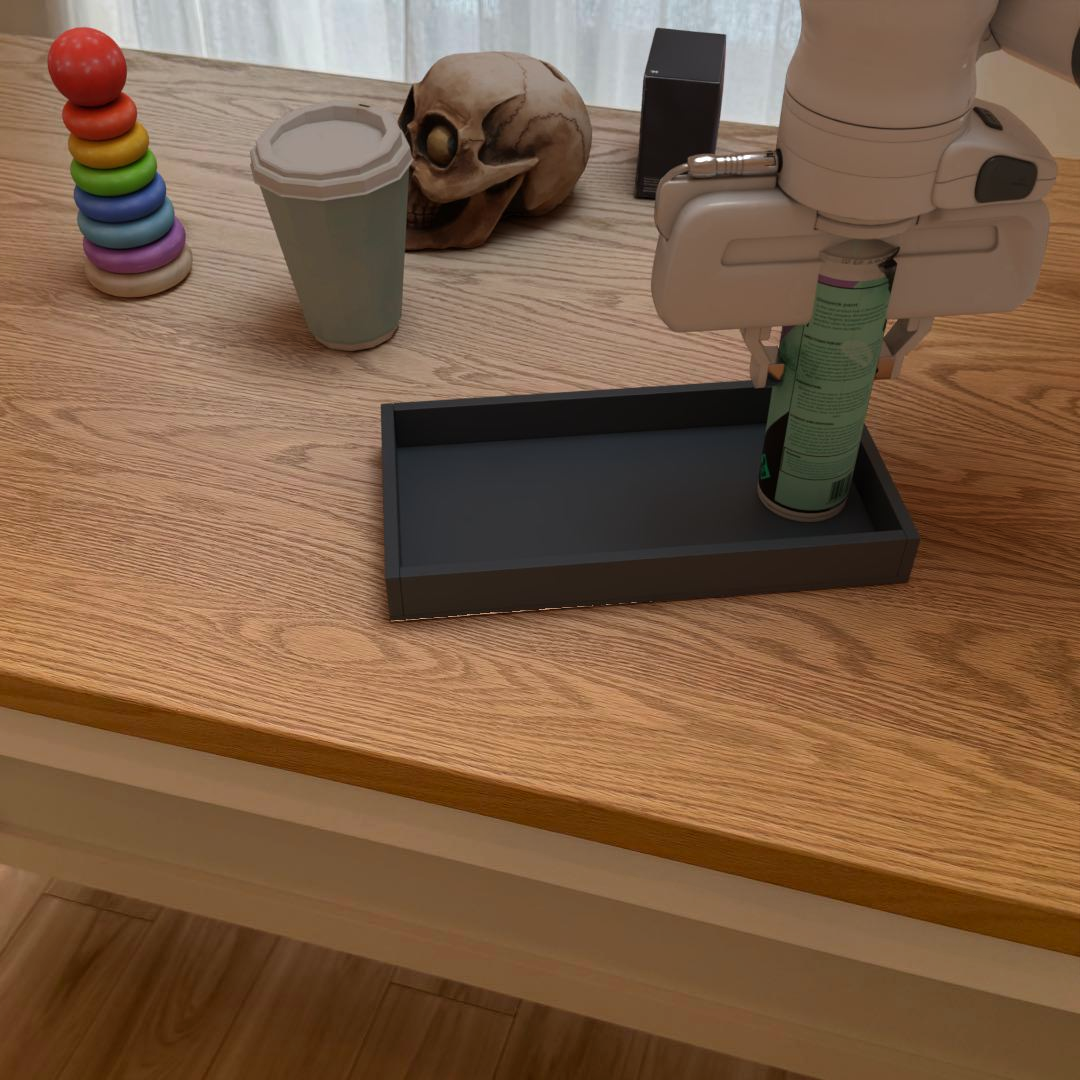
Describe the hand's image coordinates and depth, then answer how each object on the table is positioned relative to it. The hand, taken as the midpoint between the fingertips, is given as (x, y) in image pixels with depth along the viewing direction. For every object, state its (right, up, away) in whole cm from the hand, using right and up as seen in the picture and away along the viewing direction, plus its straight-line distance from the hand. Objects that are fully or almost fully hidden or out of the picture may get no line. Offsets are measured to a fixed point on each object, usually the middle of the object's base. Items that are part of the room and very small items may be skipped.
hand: (823, 377), depth 70 cm
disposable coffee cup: (-30, +6, +20) cm, 36 cm away
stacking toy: (-47, +11, +25) cm, 54 cm away
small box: (-4, +22, +37) cm, 44 cm away
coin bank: (-22, +18, +32) cm, 43 cm away
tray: (-11, -7, +5) cm, 14 cm away
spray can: (0, -6, +6) cm, 9 cm away
